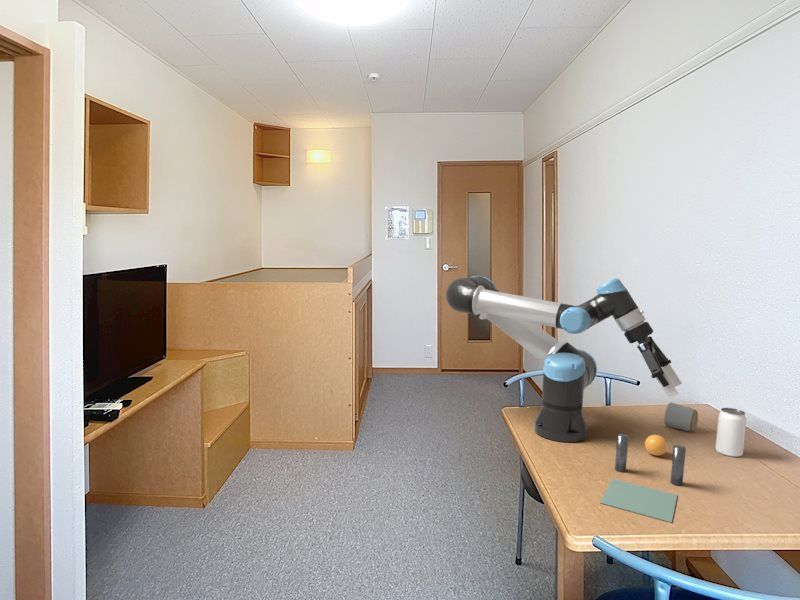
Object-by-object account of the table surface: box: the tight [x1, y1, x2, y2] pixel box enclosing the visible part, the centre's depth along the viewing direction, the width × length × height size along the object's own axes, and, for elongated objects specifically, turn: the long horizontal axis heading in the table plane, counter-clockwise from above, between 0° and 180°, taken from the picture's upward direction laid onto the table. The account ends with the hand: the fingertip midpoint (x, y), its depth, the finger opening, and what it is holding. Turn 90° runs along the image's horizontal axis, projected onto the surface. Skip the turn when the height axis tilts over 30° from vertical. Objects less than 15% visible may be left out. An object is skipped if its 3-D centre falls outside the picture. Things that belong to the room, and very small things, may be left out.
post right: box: [670, 444, 687, 487], centre depth 123 cm, size 3×3×9 cm
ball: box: [644, 434, 668, 457], centre depth 140 cm, size 6×6×6 cm
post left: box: [614, 433, 630, 473], centre depth 130 cm, size 3×3×9 cm
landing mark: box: [600, 478, 678, 524], centre depth 116 cm, size 14×14×1 cm
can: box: [715, 407, 747, 458], centre depth 143 cm, size 6×6×12 cm
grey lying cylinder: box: [663, 402, 699, 432], centre depth 163 cm, size 11×8×8 cm
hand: (675, 390), depth 150 cm, fingers open, 13 cm apart
